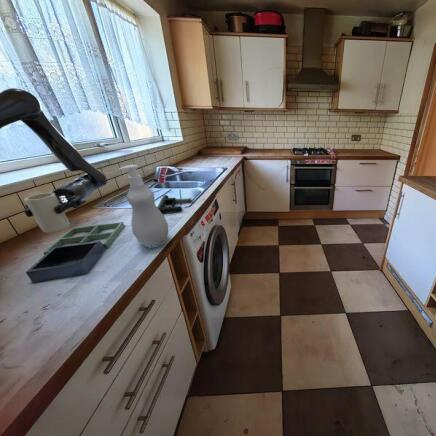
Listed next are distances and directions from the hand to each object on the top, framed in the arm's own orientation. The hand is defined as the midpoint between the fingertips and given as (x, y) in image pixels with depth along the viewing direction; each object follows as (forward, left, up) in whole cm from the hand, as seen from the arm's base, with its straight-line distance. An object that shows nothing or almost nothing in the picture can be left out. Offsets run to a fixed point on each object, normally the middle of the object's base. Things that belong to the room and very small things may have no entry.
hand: (42, 212), depth 69 cm
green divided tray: (+1, +13, -18) cm, 22 cm away
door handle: (+28, +40, -18) cm, 52 cm away
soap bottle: (+26, +4, -18) cm, 32 cm away
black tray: (+3, -4, -18) cm, 18 cm away
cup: (0, +2, -6) cm, 7 cm away
